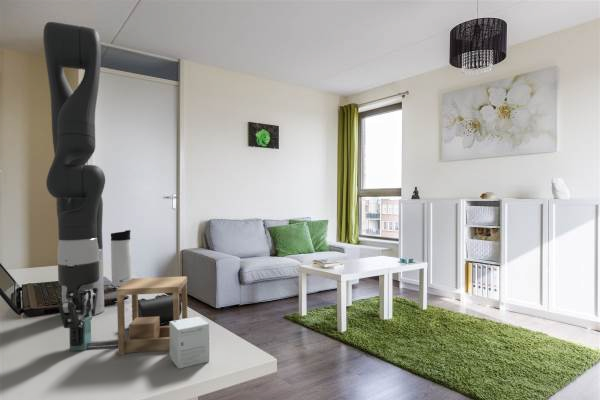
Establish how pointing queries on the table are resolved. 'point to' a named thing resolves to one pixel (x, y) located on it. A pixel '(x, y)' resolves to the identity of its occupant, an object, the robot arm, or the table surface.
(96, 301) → the robot arm
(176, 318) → the shelf lane
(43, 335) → the table surface
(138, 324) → the corded block
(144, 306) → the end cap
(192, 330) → the product box
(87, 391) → the table surface
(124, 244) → the travel mug
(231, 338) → the table surface
